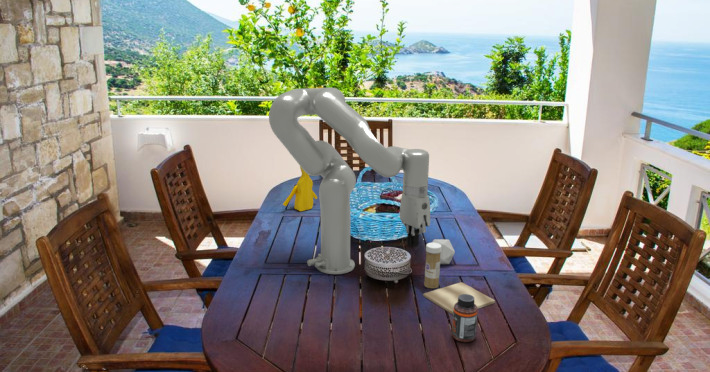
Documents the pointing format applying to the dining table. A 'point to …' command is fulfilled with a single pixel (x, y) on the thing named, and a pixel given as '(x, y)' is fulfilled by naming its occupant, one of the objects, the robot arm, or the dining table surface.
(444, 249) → the die
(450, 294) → the board
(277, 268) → the dining table surface
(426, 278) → the sprinkles bottle
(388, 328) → the dining table surface
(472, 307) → the supplement bottle
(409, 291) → the dining table surface
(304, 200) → the figure statuette
